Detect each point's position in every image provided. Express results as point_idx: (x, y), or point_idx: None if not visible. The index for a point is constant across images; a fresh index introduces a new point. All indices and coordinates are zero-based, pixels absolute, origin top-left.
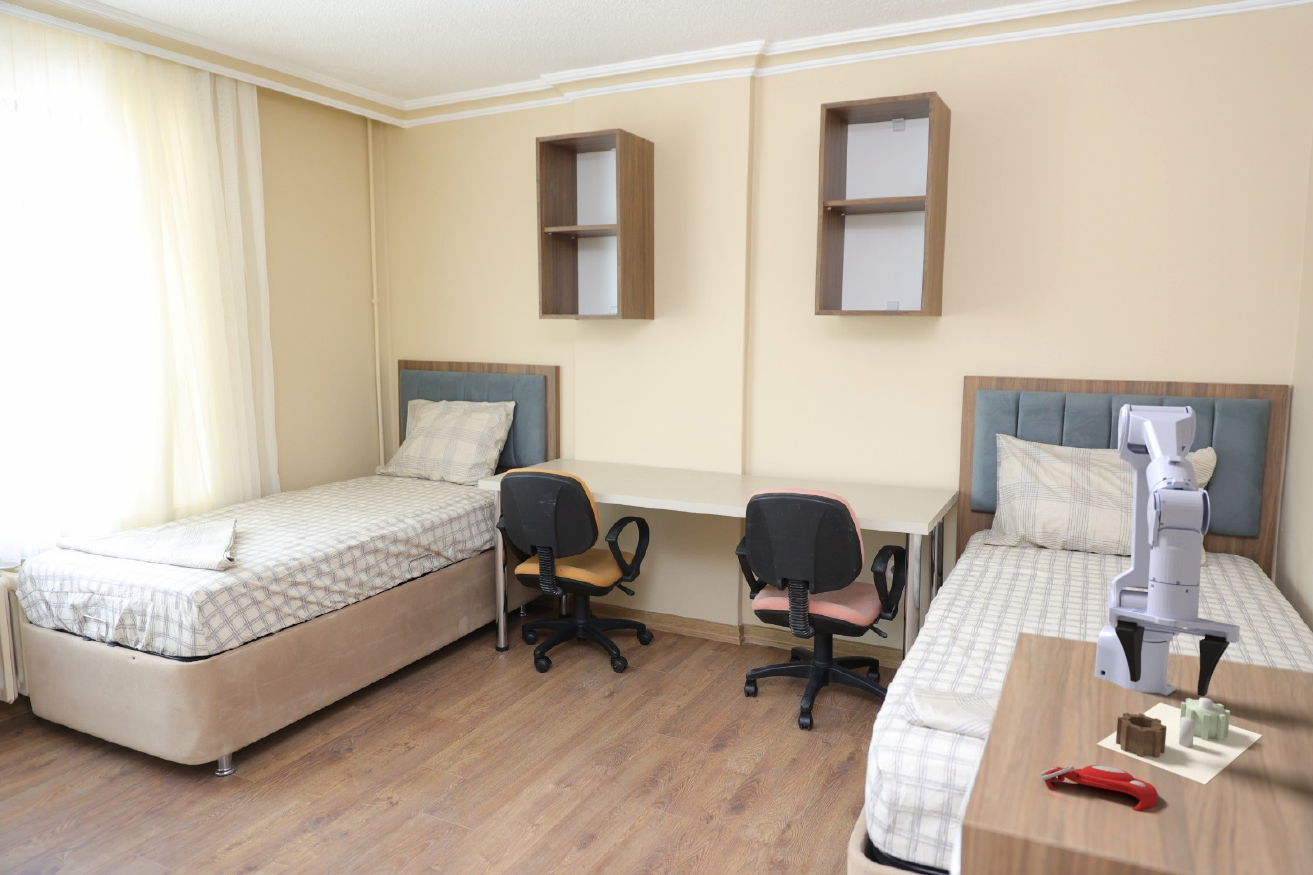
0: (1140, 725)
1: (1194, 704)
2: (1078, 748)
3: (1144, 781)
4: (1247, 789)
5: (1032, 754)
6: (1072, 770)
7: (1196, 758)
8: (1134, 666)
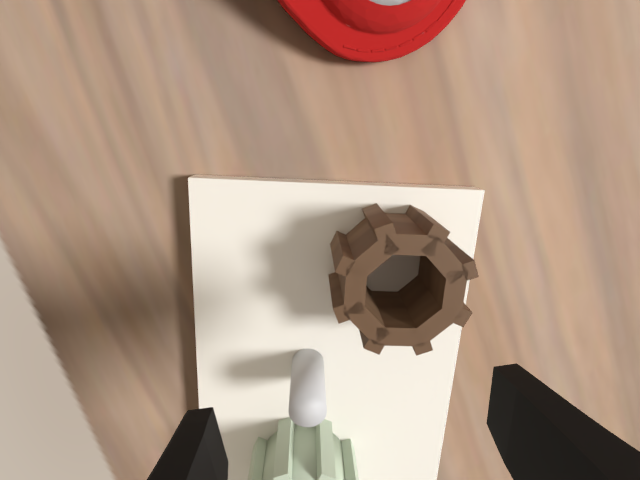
0: (411, 313)
1: None
2: (518, 165)
3: (293, 8)
4: (135, 271)
5: (617, 15)
6: None
7: (260, 308)
8: (556, 424)
